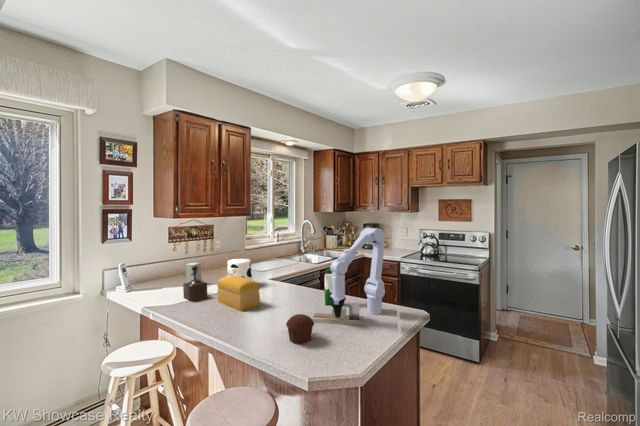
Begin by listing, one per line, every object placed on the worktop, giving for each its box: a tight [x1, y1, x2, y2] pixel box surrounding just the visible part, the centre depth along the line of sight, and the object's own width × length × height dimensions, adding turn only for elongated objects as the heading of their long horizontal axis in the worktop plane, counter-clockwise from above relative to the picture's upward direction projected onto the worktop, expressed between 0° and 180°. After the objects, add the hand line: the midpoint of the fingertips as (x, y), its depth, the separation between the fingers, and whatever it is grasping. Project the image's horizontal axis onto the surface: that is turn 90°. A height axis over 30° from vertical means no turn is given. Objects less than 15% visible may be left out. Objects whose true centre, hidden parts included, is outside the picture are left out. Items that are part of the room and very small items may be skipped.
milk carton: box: [324, 268, 334, 307], centre depth 176 cm, size 9×9×20 cm
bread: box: [216, 275, 261, 312], centre depth 180 cm, size 24×13×15 cm, turn 46°
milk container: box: [226, 258, 253, 280], centre depth 217 cm, size 17×17×18 cm
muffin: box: [285, 313, 315, 345], centre depth 132 cm, size 12×11×10 cm
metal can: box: [348, 302, 361, 320], centre depth 152 cm, size 5×5×7 cm
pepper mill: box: [182, 266, 208, 302], centre depth 193 cm, size 16×11×18 cm
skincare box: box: [185, 262, 203, 283], centre depth 219 cm, size 8×7×16 cm
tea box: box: [331, 306, 347, 319], centre depth 150 cm, size 5×6×6 cm
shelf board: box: [309, 312, 364, 327], centre depth 152 cm, size 12×24×3 cm, turn 78°
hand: (338, 315), depth 150 cm, fingers open, 5 cm apart
